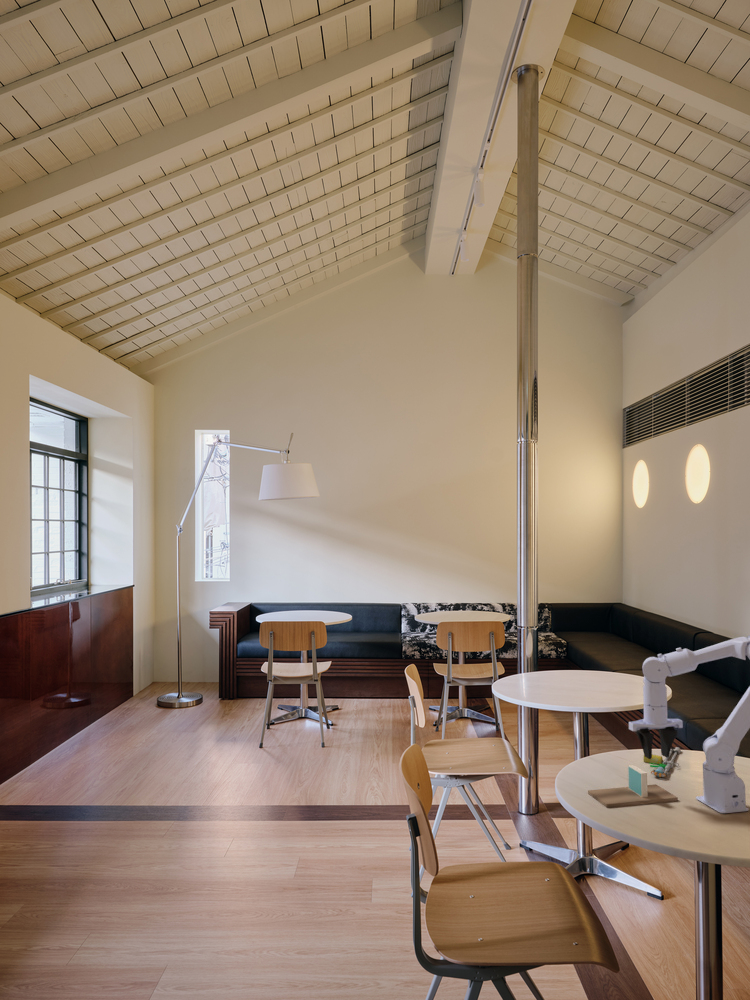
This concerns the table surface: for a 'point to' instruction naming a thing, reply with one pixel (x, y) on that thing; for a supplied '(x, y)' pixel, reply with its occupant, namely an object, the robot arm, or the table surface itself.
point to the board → (631, 796)
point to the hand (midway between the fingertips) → (656, 756)
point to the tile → (637, 780)
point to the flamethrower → (662, 762)
